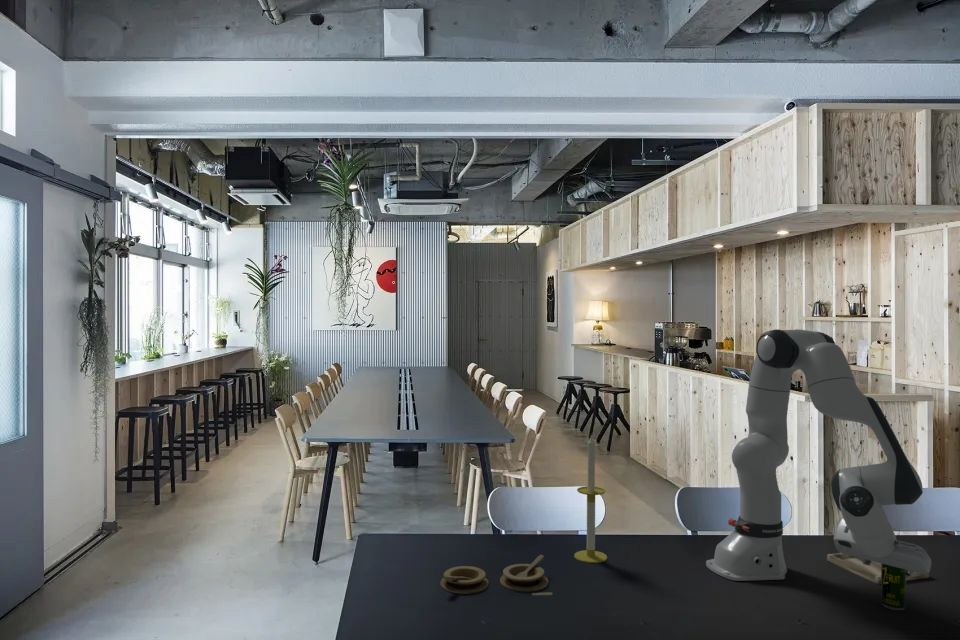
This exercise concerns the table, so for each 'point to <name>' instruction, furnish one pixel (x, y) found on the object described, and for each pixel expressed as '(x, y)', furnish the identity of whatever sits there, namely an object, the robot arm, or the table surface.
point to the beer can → (893, 587)
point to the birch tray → (864, 567)
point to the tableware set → (518, 574)
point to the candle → (591, 511)
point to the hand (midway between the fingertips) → (888, 567)
